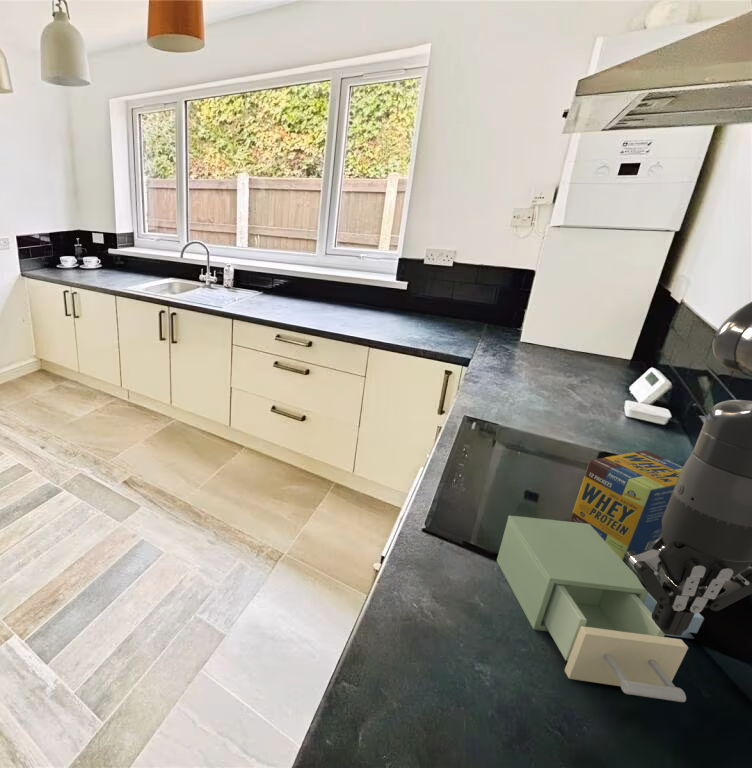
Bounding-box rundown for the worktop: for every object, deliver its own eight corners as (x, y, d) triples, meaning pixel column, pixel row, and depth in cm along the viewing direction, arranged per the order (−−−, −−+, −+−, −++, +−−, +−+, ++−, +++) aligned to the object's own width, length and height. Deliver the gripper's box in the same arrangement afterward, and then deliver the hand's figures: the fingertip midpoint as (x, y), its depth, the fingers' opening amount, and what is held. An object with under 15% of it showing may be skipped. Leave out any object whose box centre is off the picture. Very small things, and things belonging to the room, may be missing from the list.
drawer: (696, 734, 53) (723, 686, 50) (590, 717, 55) (609, 670, 52) (603, 608, 70) (619, 567, 67) (524, 598, 72) (536, 558, 69)
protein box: (565, 528, 90) (588, 459, 84) (621, 515, 94) (646, 449, 89) (621, 565, 80) (650, 490, 75) (680, 549, 85) (711, 476, 79)
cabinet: (627, 642, 66) (649, 590, 62) (533, 629, 67) (550, 578, 64) (573, 569, 79) (589, 523, 76) (496, 560, 81) (508, 515, 77)
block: (673, 616, 70) (683, 596, 69) (694, 639, 66) (704, 618, 65) (638, 612, 71) (646, 592, 69) (656, 634, 67) (665, 613, 66)
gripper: (678, 517, 44) (623, 649, 50) (837, 532, 42) (761, 666, 48) (628, 476, 51) (585, 596, 57) (763, 487, 49) (704, 610, 55)
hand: (666, 628), depth 53 cm, fingers closed
